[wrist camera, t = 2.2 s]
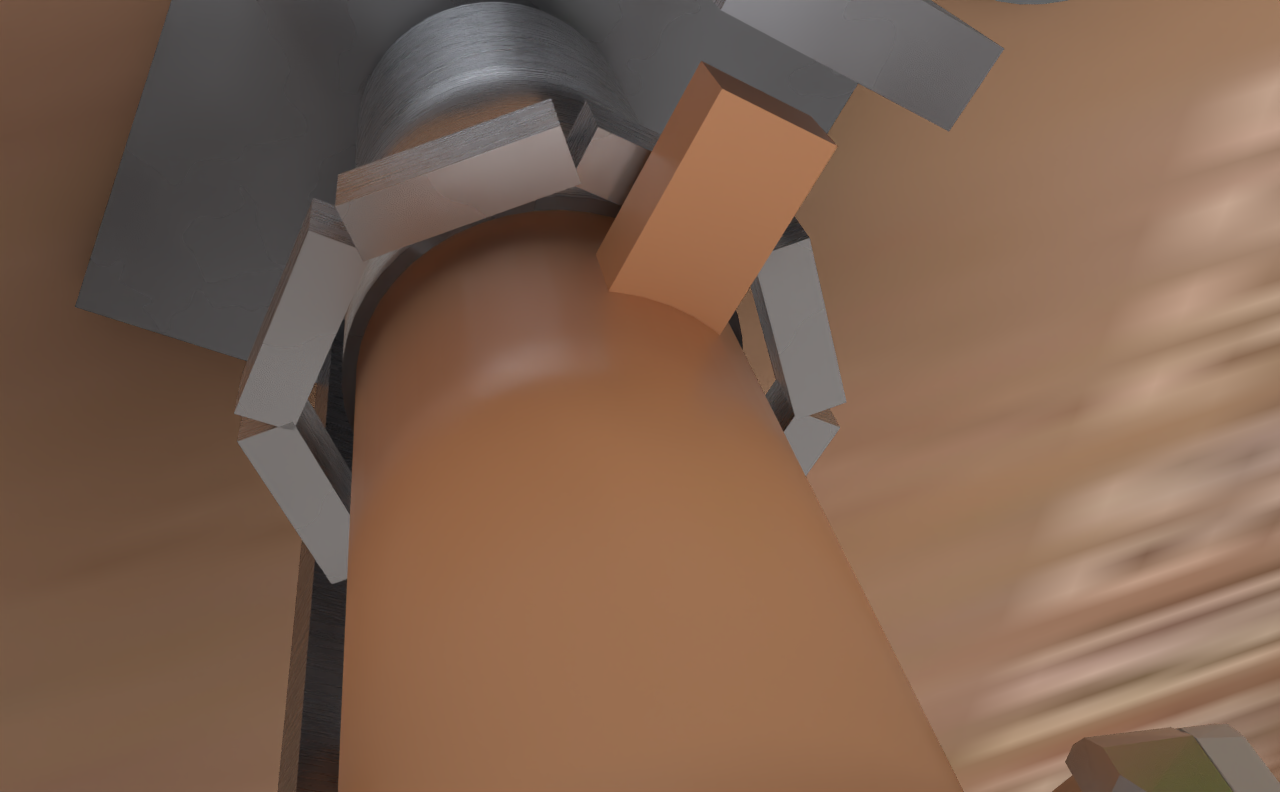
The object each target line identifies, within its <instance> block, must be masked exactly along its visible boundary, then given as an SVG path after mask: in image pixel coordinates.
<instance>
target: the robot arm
mask: <svg viewBox="0 0 1280 792" xmlns="http://www.w3.org/2000/svg"><path fill="white" fill-rule="evenodd" d="M1065 763H1066V764H1067V766H1068V768H1069V770H1070V771H1071V773H1072V776H1071V777H1070V778H1069V779H1067V780H1066V781H1065V782H1064V783H1062V784H1061V785H1060V786H1059V787H1057V788H1056V789H1055V790H1054V791H1052V792H1280V783H1279V782H1278V780H1277V779H1276V778H1275V776H1274V775H1273V774H1272V773H1271V771H1270V770H1269V769H1268V767H1267V766H1266V765H1265V763H1264V762H1263V761H1262V759H1261V758H1260V757H1259V756H1258V754H1257V753H1256V752H1255V750H1254V749H1253V748H1252V746H1251V745H1250V744H1249V742H1248V741H1247V740H1246V739H1245V737H1244V736H1243V735H1242V734H1241V733H1240V732H1239V731H1237V730H1236V729H1234V728H1233V727H1231V726H1230V725H1228V724H1208V725H1200V726H1192V727H1184V728H1176V729H1174V728H1171V727H1169V728H1161V729H1152V730H1144V731H1135V732H1127V733H1119V734H1110V735H1102V736H1094V737H1085V738H1083V739H1081V740H1080V741H1078V742H1077V743H1075V744H1074V745H1073V746H1072V748H1071V750H1070V753H1069V755H1068V757H1067V759H1066V761H1065Z"/></svg>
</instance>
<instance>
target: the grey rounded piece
mask: <svg viewBox="0 0 1280 792" xmlns="http://www.w3.org/2000/svg"><path fill="white" fill-rule="evenodd" d="M996 1H1001V2H1008V3H1015V4H1047V3H1054V2H1060V1H1067V0H996Z"/></svg>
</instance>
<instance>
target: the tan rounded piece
mask: <svg viewBox="0 0 1280 792" xmlns="http://www.w3.org/2000/svg"><path fill="white" fill-rule="evenodd" d="M837 147H838V146H837V145H836V144H835V143H834V141H833V140H832V139H831V138H830V137H829V136H828V135H827V134H826V133H825V131H824V130H823V129H822V128H821V127H820V126H819V125H818V124H817V122H816V121H815V120H814V119H813V118H812V117H811V116H809V115H808V114H806V113H804V112H802V111H800V110H798V109H796V108H794V107H792V106H790V105H788V104H786V103H784V102H782V101H780V100H778V99H776V98H774V97H772V96H770V95H768V94H766V93H764V92H762V91H760V90H758V89H756V88H754V87H752V86H750V85H748V84H746V83H744V82H742V81H740V80H738V79H736V78H734V77H732V76H730V75H728V74H726V73H724V72H722V71H720V70H718V69H717V68H715V67H713V66H711V65H709V64H707V63H705V62H703V61H701V62H700V64H699V66H698V68H697V69H696V71H695V73H694V75H693V77H692V79H691V80H690V82H689V84H688V86H687V88H686V90H685V91H684V93H683V95H682V97H681V99H680V101H679V102H678V104H677V106H676V108H675V110H674V112H673V113H672V115H671V117H670V119H669V121H668V123H667V124H666V126H665V128H664V130H663V132H662V134H661V135H660V137H659V139H658V141H657V143H656V145H655V146H654V148H653V150H652V152H651V154H650V156H649V158H648V159H647V161H646V163H645V165H644V167H643V169H642V170H641V172H640V174H639V176H638V178H637V180H636V181H635V183H634V185H633V187H632V189H631V191H630V192H629V194H628V196H627V198H626V200H625V202H624V203H623V205H622V207H621V209H620V211H619V213H618V214H617V216H616V218H613V217H609V216H604V215H599V214H594V213H589V212H580V211H568V210H547V211H531V212H525V213H519V214H513V215H507V216H503V217H500V218H497V219H493V220H490V221H486V222H483V223H480V224H478V225H475V226H473V227H471V228H468V229H466V230H463V231H461V232H459V233H456V234H455V235H453V236H451V237H450V238H448V239H446V240H444V241H443V242H441V243H439V244H438V245H436V246H434V247H433V248H431V249H430V250H429V251H427V252H426V253H425V254H424V255H422V256H421V257H420V258H418V259H417V260H416V261H414V262H413V263H412V264H411V265H410V266H409V267H408V268H407V269H406V270H405V271H404V272H403V273H402V274H401V275H400V276H399V277H398V278H397V279H396V280H395V281H394V283H393V284H392V285H391V287H390V288H389V289H388V291H387V292H386V293H385V295H384V296H383V297H382V299H381V300H380V302H379V303H378V305H377V307H376V309H375V311H374V313H373V314H372V316H371V318H370V320H369V322H368V325H367V327H366V330H365V333H364V336H363V338H362V341H361V345H360V350H359V355H358V360H357V369H356V392H355V414H354V437H353V459H352V482H351V504H350V527H349V549H348V572H347V595H346V617H345V640H344V662H343V685H342V707H341V730H340V753H339V775H338V792H964V791H963V789H962V787H961V785H960V783H959V781H958V779H957V777H956V775H955V773H954V771H953V769H952V767H951V765H950V763H949V761H948V759H947V757H946V755H945V753H944V751H943V749H942V747H941V745H940V743H939V741H938V739H937V737H936V735H935V733H934V731H933V729H932V727H931V725H930V723H929V721H928V719H927V717H926V715H925V713H924V711H923V709H922V707H921V705H920V703H919V701H918V699H917V697H916V695H915V693H914V691H913V689H912V687H911V685H910V683H909V681H908V679H907V677H906V675H905V673H904V671H903V669H902V667H901V665H900V663H899V662H898V660H897V658H896V656H895V654H894V652H893V650H892V648H891V646H890V644H889V642H888V640H887V638H886V636H885V634H884V632H883V630H882V628H881V626H880V624H879V622H878V620H877V618H876V616H875V614H874V612H873V610H872V608H871V606H870V604H869V602H868V600H867V598H866V596H865V594H864V592H863V590H862V588H861V586H860V584H859V582H858V580H857V578H856V576H855V574H854V572H853V570H852V568H851V566H850V564H849V562H848V560H847V558H846V556H845V554H844V552H843V550H842V548H841V546H840V544H839V542H838V540H837V538H836V536H835V534H834V532H833V530H832V528H831V526H830V524H829V522H828V520H827V518H826V516H825V514H824V512H823V510H822V508H821V506H820V504H819V502H818V500H817V498H816V496H815V494H814V492H813V490H812V488H811V486H810V484H809V482H808V480H807V478H806V476H805V474H804V472H803V470H802V468H801V466H800V464H799V462H798V460H797V458H796V456H795V454H794V452H793V450H792V448H791V446H790V444H789V442H788V440H787V438H786V436H785V434H784V432H783V430H782V428H781V426H780V424H779V422H778V420H777V418H776V416H775V414H774V412H773V410H772V408H771V406H770V404H769V402H768V400H767V398H766V396H765V394H764V392H763V390H762V388H761V386H760V384H759V382H758V380H757V378H756V376H755V374H754V372H753V370H752V368H751V366H750V364H749V362H748V360H747V358H746V356H745V354H744V352H743V350H742V348H741V346H740V344H739V342H738V340H737V338H736V336H735V334H734V332H733V330H732V328H731V326H730V324H729V322H728V321H729V320H730V318H731V317H732V315H733V313H734V312H735V310H736V309H737V307H738V305H739V304H740V302H741V301H742V299H743V297H744V296H745V294H746V293H747V291H748V289H749V288H750V286H751V285H752V283H753V281H754V280H755V278H756V277H757V275H758V273H759V272H760V270H761V269H762V267H763V265H764V264H765V262H766V261H767V259H768V257H769V256H770V254H771V253H772V251H773V249H774V248H775V246H776V245H777V243H778V241H779V240H780V238H781V236H782V235H783V233H784V232H785V230H786V228H787V227H788V225H789V224H790V222H791V220H792V219H793V217H794V216H795V214H796V212H797V211H798V209H799V208H800V206H801V204H802V203H803V201H804V200H805V198H806V196H807V195H808V193H809V192H810V190H811V188H812V187H813V185H814V184H815V182H816V180H817V179H818V177H819V176H820V174H821V172H822V171H823V169H824V168H825V166H826V164H827V163H828V161H829V160H830V158H831V156H832V155H833V153H834V152H835V150H836V148H837Z"/></svg>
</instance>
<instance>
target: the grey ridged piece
mask: <svg viewBox="0 0 1280 792" xmlns="http://www.w3.org/2000/svg"><path fill="white" fill-rule="evenodd" d="M1003 50H1004V48H1003V47H1001V46H1000V45H998V44H997V43H995V42H993V41H992V40H990V39H989V38H987V37H986V36H984V35H983V34H981V33H980V32H978V31H977V30H975V29H974V28H972V27H971V26H969V25H968V24H966V23H965V22H963V21H962V20H960V19H959V18H957V17H955V16H954V15H952V14H951V13H949V12H948V11H946V10H945V9H943V8H942V7H940V6H939V5H937V4H936V3H934V2H933V1H931V0H172V1H171V4H170V7H169V10H168V13H167V16H166V20H165V23H164V26H163V29H162V32H161V35H160V39H159V42H158V45H157V48H156V51H155V54H154V58H153V61H152V64H151V67H150V70H149V74H148V77H147V80H146V83H145V86H144V89H143V93H142V96H141V99H140V102H139V105H138V108H137V112H136V115H135V118H134V121H133V124H132V128H131V131H130V134H129V137H128V140H127V143H126V147H125V150H124V153H123V156H122V159H121V162H120V166H119V169H118V172H117V175H116V178H115V182H114V185H113V188H112V191H111V194H110V197H109V201H108V204H107V207H106V210H105V213H104V216H103V220H102V223H101V226H100V229H99V232H98V235H97V239H96V242H95V245H94V248H93V251H92V255H91V258H90V261H89V264H88V267H87V270H86V274H85V277H84V280H83V283H82V286H81V289H80V293H79V296H78V299H77V302H76V305H75V307H77V308H80V309H83V310H86V311H89V312H93V313H96V314H99V315H102V316H105V317H108V318H112V319H115V320H118V321H121V322H124V323H128V324H131V325H134V326H137V327H140V328H143V329H147V330H150V331H153V332H156V333H159V334H162V335H166V336H169V337H172V338H175V339H178V340H181V341H185V342H188V343H191V344H194V345H197V346H201V347H204V348H207V349H210V350H213V351H216V352H220V353H223V354H226V355H229V356H232V357H235V358H239V359H242V360H245V361H247V362H246V365H245V367H244V370H243V372H242V376H241V381H240V386H239V391H238V396H237V401H236V406H235V411H234V414H237V415H240V416H242V419H241V424H240V429H239V435H238V440H237V442H238V444H239V445H240V447H241V448H242V450H243V451H244V453H245V454H246V456H247V457H248V459H249V460H250V462H251V463H252V465H253V466H254V468H255V469H256V471H257V472H258V474H259V475H260V477H261V478H262V480H263V481H264V483H265V484H266V486H267V487H268V489H269V490H270V492H271V494H272V495H273V497H274V498H275V500H276V501H277V503H278V504H279V506H280V507H281V509H282V510H283V512H284V513H285V515H286V516H287V518H288V519H289V521H290V522H291V524H292V525H293V527H294V528H295V530H296V531H297V533H298V534H299V536H300V537H301V539H302V544H301V555H300V565H299V575H298V586H297V596H296V606H295V617H294V627H293V637H292V648H291V658H290V668H289V679H288V689H287V699H286V710H285V720H284V730H283V741H282V751H281V761H280V772H279V782H278V792H338V775H339V753H340V730H341V707H342V685H343V662H344V640H345V617H346V595H347V572H348V549H349V527H350V504H351V482H352V459H353V437H354V414H355V392H356V369H357V360H358V355H359V350H360V345H361V341H362V338H363V336H364V333H365V330H366V327H367V325H368V322H369V320H370V318H371V316H372V314H373V313H374V311H375V309H376V307H377V305H378V303H379V302H380V300H381V299H382V297H383V296H384V295H385V293H386V292H387V291H388V289H389V288H390V287H391V285H392V284H393V283H394V281H395V280H396V279H397V278H398V277H399V276H400V275H401V274H402V273H403V272H404V271H405V270H406V269H407V268H408V267H409V266H410V265H411V264H412V263H413V262H414V261H416V260H417V259H418V258H420V257H421V256H422V255H424V254H425V253H426V252H427V251H429V250H430V249H431V248H433V247H434V246H436V245H438V244H439V243H441V242H443V241H444V240H446V239H448V238H450V237H451V236H453V235H455V234H456V233H459V232H461V231H463V230H466V229H468V228H471V227H473V226H475V225H478V224H480V223H483V222H486V221H490V220H493V219H497V218H500V217H503V216H507V215H513V214H519V213H525V212H531V211H547V210H568V211H580V212H589V213H594V214H599V215H604V216H609V217H613V218H616V216H617V214H618V213H619V211H620V209H621V207H622V205H623V203H624V202H625V200H626V198H627V196H628V194H629V192H630V191H631V189H632V187H633V185H634V183H635V181H636V180H637V178H638V176H639V174H640V172H641V170H642V169H643V167H644V165H645V163H646V161H647V159H648V158H649V156H650V154H651V152H652V150H653V148H654V146H655V145H656V143H657V141H658V139H659V137H660V135H661V134H662V132H663V130H664V128H665V126H666V124H667V123H668V121H669V119H670V117H671V115H672V113H673V112H674V110H675V108H676V106H677V104H678V102H679V101H680V99H681V97H682V95H683V93H684V91H685V90H686V88H687V86H688V84H689V82H690V80H691V79H692V77H693V75H694V73H695V71H696V69H697V68H698V66H699V64H700V62H701V61H703V62H705V63H707V64H709V65H711V66H713V67H715V68H717V69H718V70H720V71H722V72H724V73H726V74H728V75H730V76H732V77H734V78H736V79H738V80H740V81H742V82H744V83H746V84H748V85H750V86H752V87H754V88H756V89H758V90H760V91H762V92H764V93H766V94H768V95H770V96H772V97H774V98H776V99H778V100H780V101H782V102H784V103H786V104H788V105H790V106H792V107H794V108H796V109H798V110H800V111H802V112H804V113H806V114H808V115H809V116H811V117H812V118H813V119H814V120H815V121H816V122H817V124H818V125H819V126H820V127H821V128H822V129H823V130H824V131H825V133H826V134H827V133H828V132H829V130H830V128H831V127H832V125H833V123H834V122H835V120H836V119H837V117H838V115H839V114H840V112H841V110H842V109H843V107H844V106H845V104H846V102H847V101H848V99H849V97H850V96H851V94H852V93H853V91H854V89H855V88H856V86H857V84H858V83H859V84H861V85H863V86H865V87H866V88H868V89H870V90H872V91H874V92H876V93H878V94H880V95H881V96H883V97H885V98H887V99H889V100H891V101H893V102H895V103H896V104H898V105H900V106H902V107H904V108H906V109H908V110H910V111H912V112H913V113H915V114H917V115H919V116H921V117H923V118H925V119H927V120H928V121H930V122H932V123H934V124H936V125H938V126H940V127H942V128H943V129H945V130H947V131H950V129H951V128H952V126H953V125H954V123H955V122H956V120H957V119H958V117H959V116H960V114H961V113H962V111H963V110H964V108H965V107H966V105H967V104H968V102H969V101H970V99H971V98H972V96H973V95H974V93H975V92H976V90H977V89H978V87H979V86H980V84H981V83H982V81H983V80H984V78H985V77H986V75H987V74H988V72H989V71H990V69H991V68H992V66H993V65H994V63H995V62H996V60H997V59H998V57H999V56H1000V54H1001V53H1002V51H1003ZM751 289H752V293H753V297H754V301H755V304H756V308H757V312H758V315H759V319H760V323H761V327H762V330H763V334H764V338H765V341H766V345H767V349H768V353H769V356H770V360H771V364H772V367H773V371H774V375H775V379H776V380H775V382H774V383H773V385H772V386H771V388H770V389H769V391H768V392H767V394H766V395H765V396H766V398H767V400H768V402H769V404H770V406H771V408H772V410H773V412H774V414H775V416H776V418H777V420H778V422H779V424H780V426H781V428H782V430H783V432H784V434H785V436H786V438H787V440H788V442H789V444H790V446H791V448H792V450H793V452H794V454H795V456H796V458H797V460H798V462H799V464H800V466H801V468H802V470H803V472H804V474H805V476H806V475H807V474H808V472H809V471H810V469H811V468H812V467H813V465H814V464H815V462H816V461H817V460H818V458H819V457H820V455H821V454H822V452H823V451H824V450H825V448H826V447H827V445H828V444H829V443H830V441H831V440H832V438H833V437H834V436H835V434H836V433H837V431H838V430H839V429H840V426H839V424H838V422H837V421H836V419H835V417H834V415H833V414H832V412H831V410H830V409H829V408H832V407H835V406H837V405H840V404H843V403H846V398H845V393H844V389H843V384H842V380H841V376H840V371H839V367H838V362H837V358H836V353H835V349H834V344H833V340H832V336H831V331H830V327H829V322H828V318H827V313H826V309H825V304H824V300H823V296H822V291H821V287H820V282H819V278H818V273H817V269H816V264H815V260H814V256H813V251H812V247H811V242H810V238H809V236H808V235H807V234H806V232H805V231H804V229H803V228H802V227H801V225H800V224H799V222H798V221H797V219H796V218H795V217H793V219H792V220H791V222H790V224H789V225H788V227H787V228H786V230H785V232H784V233H783V235H782V236H781V238H780V240H779V241H778V243H777V245H776V246H775V248H774V249H773V251H772V253H771V254H770V256H769V257H768V259H767V261H766V262H765V264H764V265H763V267H762V269H761V270H760V272H759V273H758V275H757V277H756V278H755V280H754V281H753V283H752V285H751ZM728 322H729V324H730V326H731V328H732V330H733V332H734V334H735V336H736V338H737V340H738V342H739V344H740V346H741V348H742V350H743V345H742V334H741V329H740V324H739V319H738V315H737V312H736V310H735V312H734V313H733V315H732V317H731V318H730V320H729V321H728ZM314 383H317V389H316V400H315V410H314V409H313V407H312V405H311V404H310V402H309V400H308V397H309V395H310V392H311V390H312V388H313V386H314Z"/></svg>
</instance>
